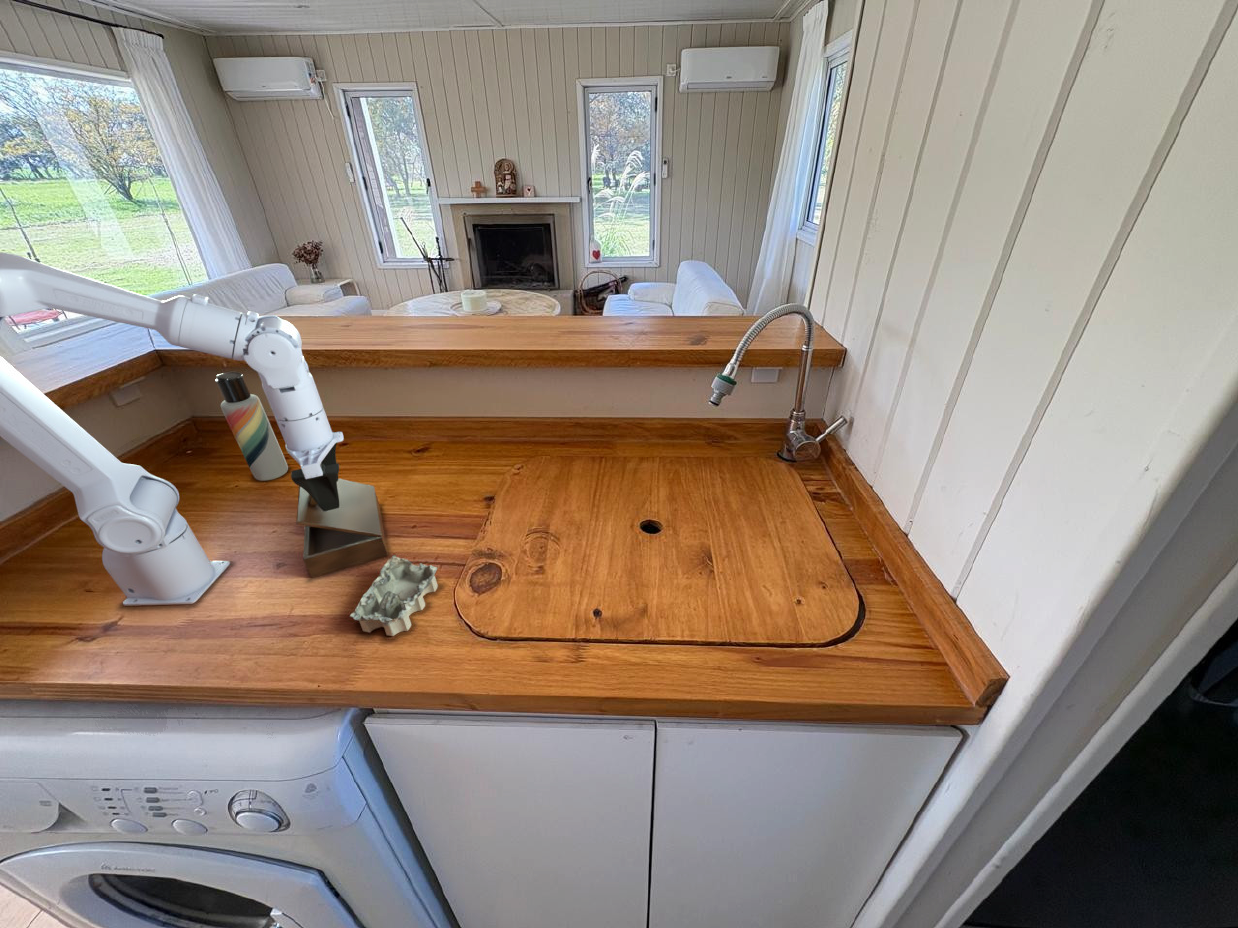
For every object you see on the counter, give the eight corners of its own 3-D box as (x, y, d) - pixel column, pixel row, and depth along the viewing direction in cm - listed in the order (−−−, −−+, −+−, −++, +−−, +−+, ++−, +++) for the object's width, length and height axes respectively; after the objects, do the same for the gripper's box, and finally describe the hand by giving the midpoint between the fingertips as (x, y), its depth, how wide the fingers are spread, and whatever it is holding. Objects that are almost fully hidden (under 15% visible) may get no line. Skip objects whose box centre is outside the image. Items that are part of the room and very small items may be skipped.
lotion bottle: (256, 469, 96) (210, 371, 85) (290, 462, 98) (249, 366, 87) (252, 484, 91) (203, 383, 81) (287, 477, 93) (244, 377, 83)
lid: (296, 524, 66) (307, 496, 65) (299, 473, 77) (309, 448, 76) (380, 537, 73) (391, 512, 72) (373, 488, 84) (382, 465, 82)
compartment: (311, 578, 71) (303, 559, 69) (313, 522, 82) (305, 505, 80) (387, 556, 75) (381, 537, 73) (379, 505, 86) (374, 488, 84)
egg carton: (401, 572, 72) (394, 551, 70) (447, 581, 70) (442, 560, 68) (349, 630, 63) (340, 607, 61) (401, 642, 61) (393, 619, 59)
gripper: (333, 427, 62) (363, 513, 70) (331, 387, 73) (358, 464, 81) (268, 440, 60) (306, 528, 67) (277, 396, 71) (309, 475, 78)
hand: (331, 494), depth 74 cm, fingers open, 7 cm apart
